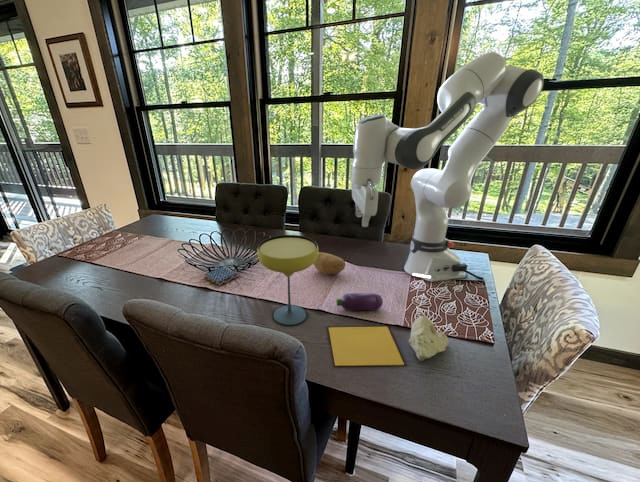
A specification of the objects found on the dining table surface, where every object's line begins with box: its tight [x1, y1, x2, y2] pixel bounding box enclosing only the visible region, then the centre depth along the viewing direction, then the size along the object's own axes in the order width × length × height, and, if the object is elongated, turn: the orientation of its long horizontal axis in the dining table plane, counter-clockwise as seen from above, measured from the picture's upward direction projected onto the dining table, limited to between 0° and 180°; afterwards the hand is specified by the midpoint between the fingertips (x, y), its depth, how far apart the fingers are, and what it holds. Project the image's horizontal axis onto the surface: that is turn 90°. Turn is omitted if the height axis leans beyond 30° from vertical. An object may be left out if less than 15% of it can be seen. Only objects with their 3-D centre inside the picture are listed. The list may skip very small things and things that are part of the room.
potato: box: [313, 251, 347, 275], centre depth 126 cm, size 10×14×8 cm
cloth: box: [328, 326, 405, 367], centre depth 89 cm, size 18×16×1 cm
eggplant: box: [335, 292, 384, 311], centre depth 103 cm, size 15×6×6 cm, turn 88°
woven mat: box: [204, 266, 240, 286], centre depth 128 cm, size 10×11×2 cm
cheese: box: [408, 314, 450, 362], centre depth 84 cm, size 15×7×15 cm
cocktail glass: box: [256, 234, 319, 326], centre depth 97 cm, size 18×18×25 cm
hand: (361, 221), depth 99 cm, fingers open, 8 cm apart
